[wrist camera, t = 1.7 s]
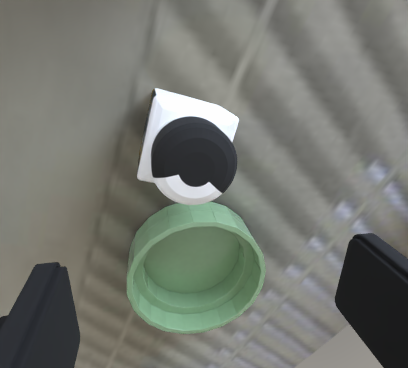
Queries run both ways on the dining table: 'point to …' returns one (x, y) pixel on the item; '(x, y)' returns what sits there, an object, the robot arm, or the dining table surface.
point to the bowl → (193, 268)
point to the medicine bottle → (187, 148)
